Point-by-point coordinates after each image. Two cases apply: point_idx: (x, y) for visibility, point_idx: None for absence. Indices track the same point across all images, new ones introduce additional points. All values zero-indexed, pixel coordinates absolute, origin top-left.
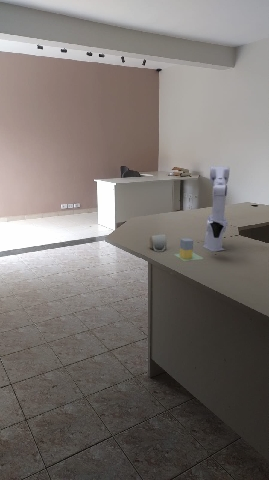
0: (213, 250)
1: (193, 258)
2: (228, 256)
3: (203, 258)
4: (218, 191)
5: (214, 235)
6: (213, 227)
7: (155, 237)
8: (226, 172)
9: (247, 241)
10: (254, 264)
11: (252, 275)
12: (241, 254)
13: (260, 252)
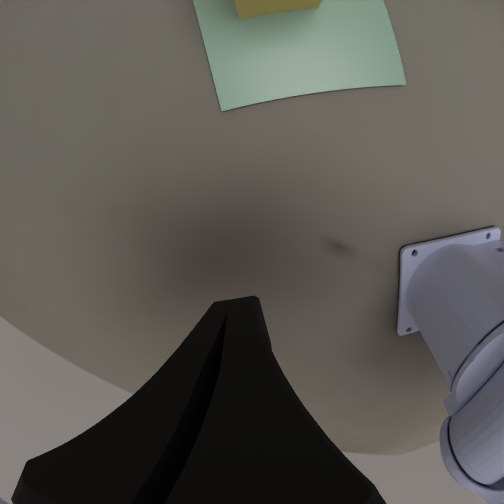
0: (403, 260)
1: (235, 29)
2: (277, 314)
3: (227, 109)
4: None
5: (215, 317)
6: (200, 447)
7: None
8: None
9: None
10: (137, 371)
11: (12, 297)
12: (300, 382)
13: None
